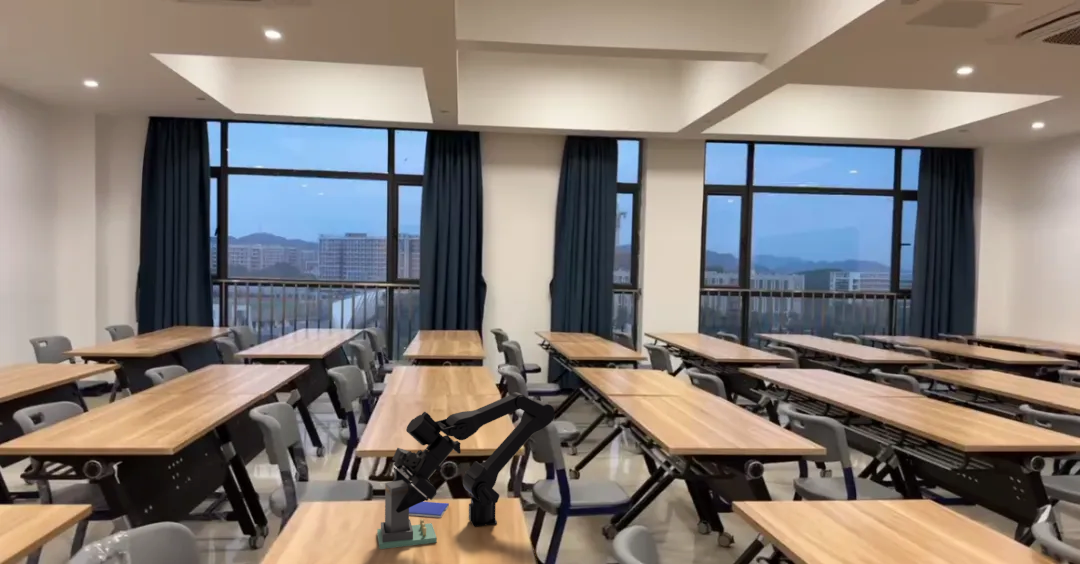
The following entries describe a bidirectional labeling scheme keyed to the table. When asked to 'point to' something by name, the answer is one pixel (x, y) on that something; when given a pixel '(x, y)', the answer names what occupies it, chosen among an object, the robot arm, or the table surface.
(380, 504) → the table surface
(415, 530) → the header board
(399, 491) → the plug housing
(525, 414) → the robot arm
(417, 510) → the hard drive
